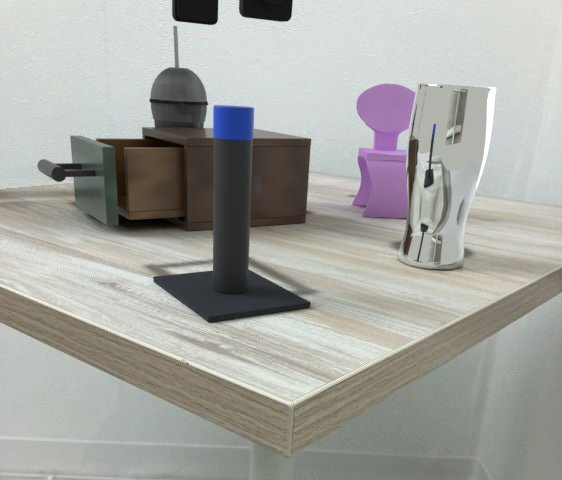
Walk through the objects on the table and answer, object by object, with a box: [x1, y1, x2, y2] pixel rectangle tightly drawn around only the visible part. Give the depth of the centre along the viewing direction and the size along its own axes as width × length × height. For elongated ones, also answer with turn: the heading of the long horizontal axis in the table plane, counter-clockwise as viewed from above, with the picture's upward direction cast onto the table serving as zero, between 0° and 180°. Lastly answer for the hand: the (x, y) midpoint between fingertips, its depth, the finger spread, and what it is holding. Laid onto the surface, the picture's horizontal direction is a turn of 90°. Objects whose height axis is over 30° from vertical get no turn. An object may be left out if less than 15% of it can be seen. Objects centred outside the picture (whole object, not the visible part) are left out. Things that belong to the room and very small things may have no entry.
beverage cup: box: [148, 25, 209, 128], centre depth 81 cm, size 7×7×20 cm
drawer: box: [36, 135, 185, 227], centre depth 68 cm, size 18×11×7 cm, turn 121°
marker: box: [212, 104, 255, 294], centre depth 45 cm, size 3×3×12 cm
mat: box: [152, 269, 312, 323], centre depth 48 cm, size 10×8×1 cm
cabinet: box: [141, 126, 312, 232], centre depth 73 cm, size 15×13×9 cm
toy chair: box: [351, 83, 416, 219], centre depth 80 cm, size 8×9×15 cm
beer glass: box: [397, 82, 497, 271], centre depth 57 cm, size 7×7×15 cm
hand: (227, 21), depth 41 cm, fingers open, 9 cm apart
